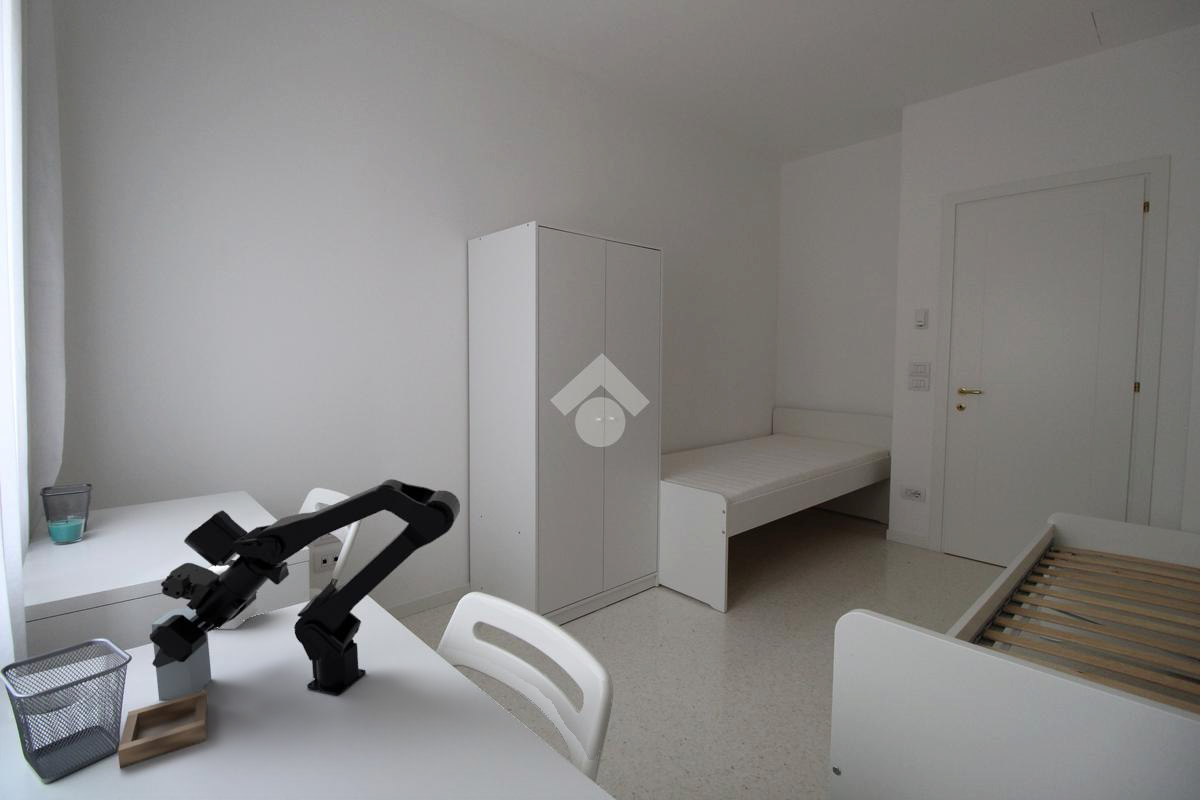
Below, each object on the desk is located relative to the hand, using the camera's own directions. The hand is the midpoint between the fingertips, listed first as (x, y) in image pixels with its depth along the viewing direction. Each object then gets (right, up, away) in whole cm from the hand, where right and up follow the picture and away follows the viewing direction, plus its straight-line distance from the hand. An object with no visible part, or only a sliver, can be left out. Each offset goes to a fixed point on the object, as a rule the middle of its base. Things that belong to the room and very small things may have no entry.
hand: (173, 650), depth 91 cm
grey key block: (+1, -7, +1) cm, 7 cm away
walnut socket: (+6, -8, -10) cm, 14 cm away
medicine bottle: (-6, -4, +23) cm, 24 cm away
